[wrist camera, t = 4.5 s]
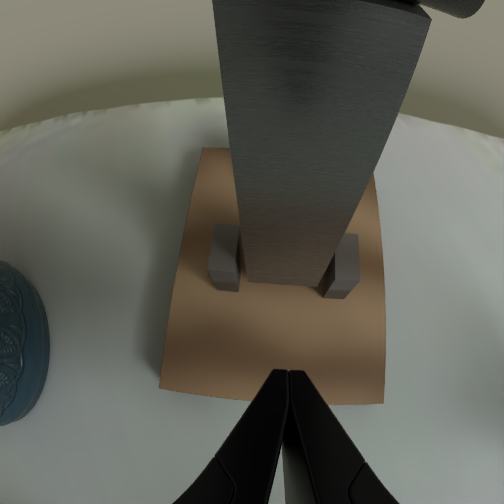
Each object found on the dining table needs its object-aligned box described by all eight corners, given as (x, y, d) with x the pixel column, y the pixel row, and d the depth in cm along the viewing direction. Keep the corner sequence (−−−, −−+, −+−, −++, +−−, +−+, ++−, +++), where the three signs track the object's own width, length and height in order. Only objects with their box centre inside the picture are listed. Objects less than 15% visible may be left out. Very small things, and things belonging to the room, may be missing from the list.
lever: (331, 289, 16) (501, -52, 1) (232, 282, 16) (142, -100, 2) (331, 254, 17) (450, -73, 2) (236, 247, 17) (181, -104, 3)
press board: (371, 402, 16) (429, 407, 10) (169, 388, 17) (118, 387, 10) (364, 176, 23) (392, 106, 16) (207, 165, 23) (190, 91, 17)
